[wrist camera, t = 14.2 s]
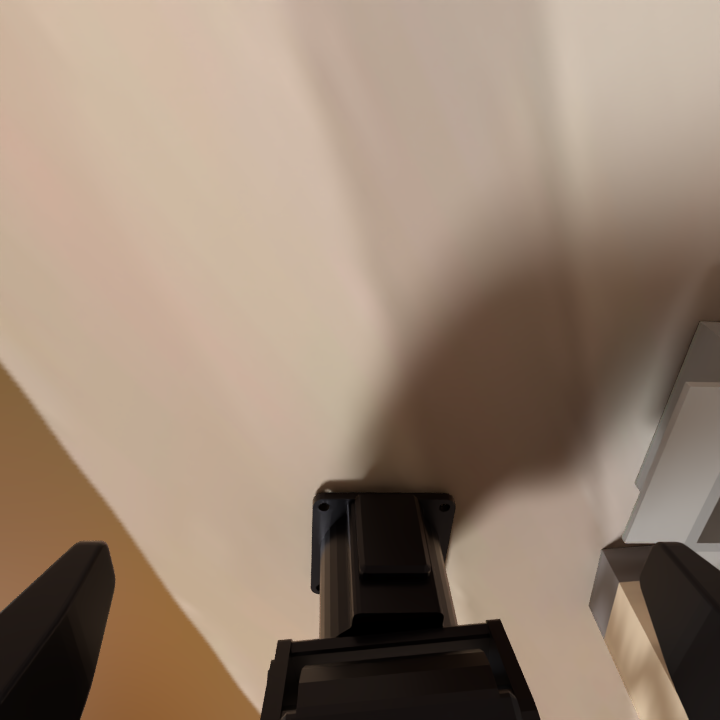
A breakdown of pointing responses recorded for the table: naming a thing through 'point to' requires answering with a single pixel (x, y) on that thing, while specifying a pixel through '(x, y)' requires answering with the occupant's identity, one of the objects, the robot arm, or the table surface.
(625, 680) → the box
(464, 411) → the table surface
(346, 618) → the robot arm
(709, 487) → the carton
